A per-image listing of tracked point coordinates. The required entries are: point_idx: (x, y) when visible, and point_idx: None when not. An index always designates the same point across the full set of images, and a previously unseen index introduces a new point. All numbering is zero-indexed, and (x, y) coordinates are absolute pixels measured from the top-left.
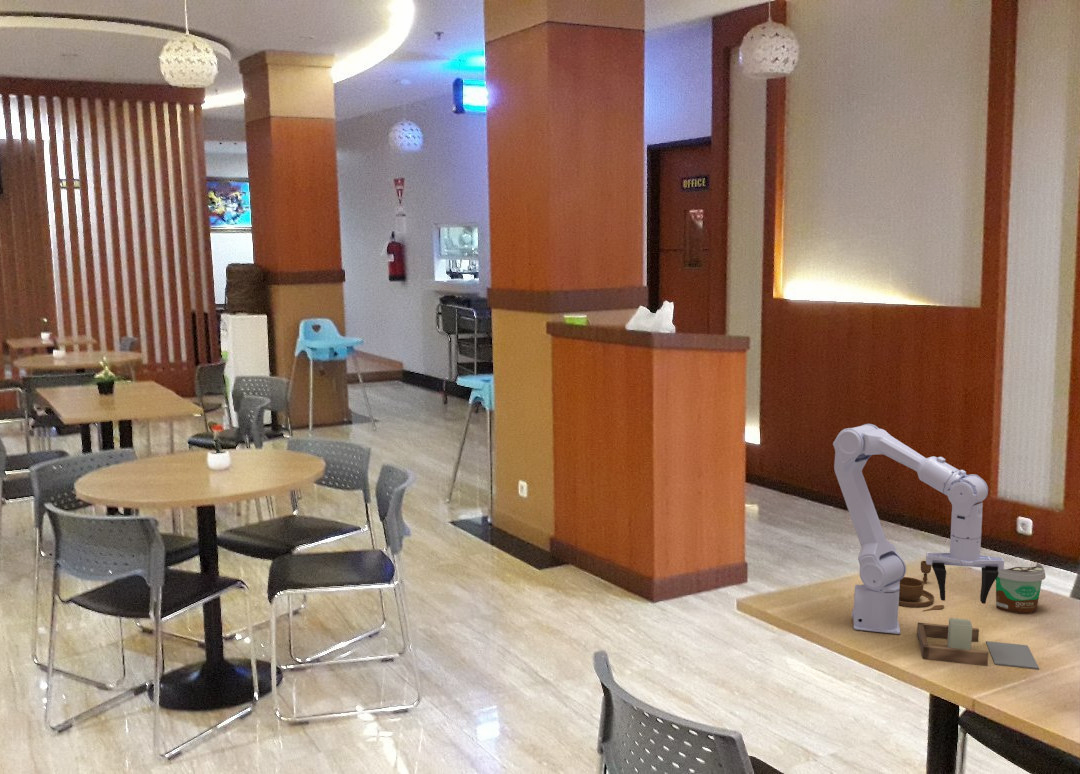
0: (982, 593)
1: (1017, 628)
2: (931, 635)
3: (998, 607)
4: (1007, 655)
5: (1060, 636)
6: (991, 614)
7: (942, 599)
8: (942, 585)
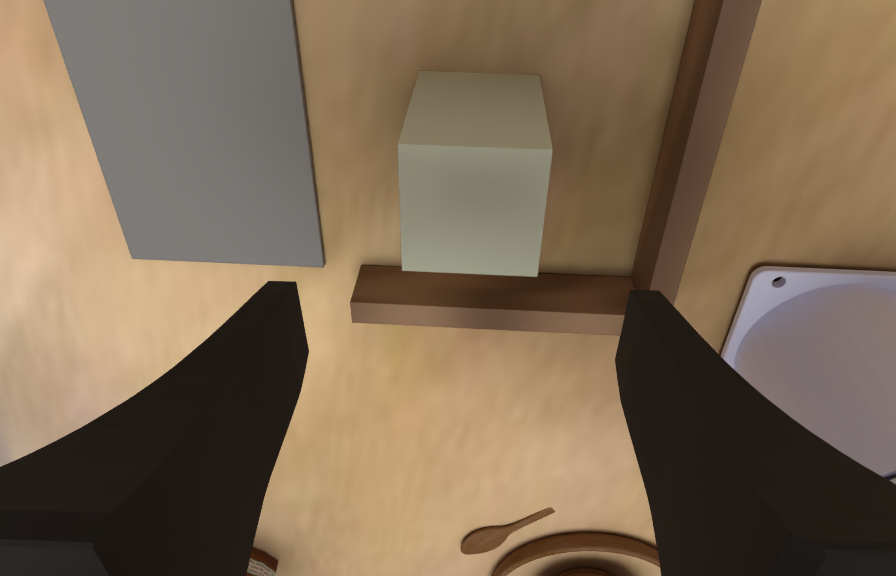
0: (270, 360)
1: None
2: (587, 279)
3: (269, 561)
4: (214, 93)
5: (29, 386)
6: (294, 518)
7: (657, 294)
8: (721, 385)
